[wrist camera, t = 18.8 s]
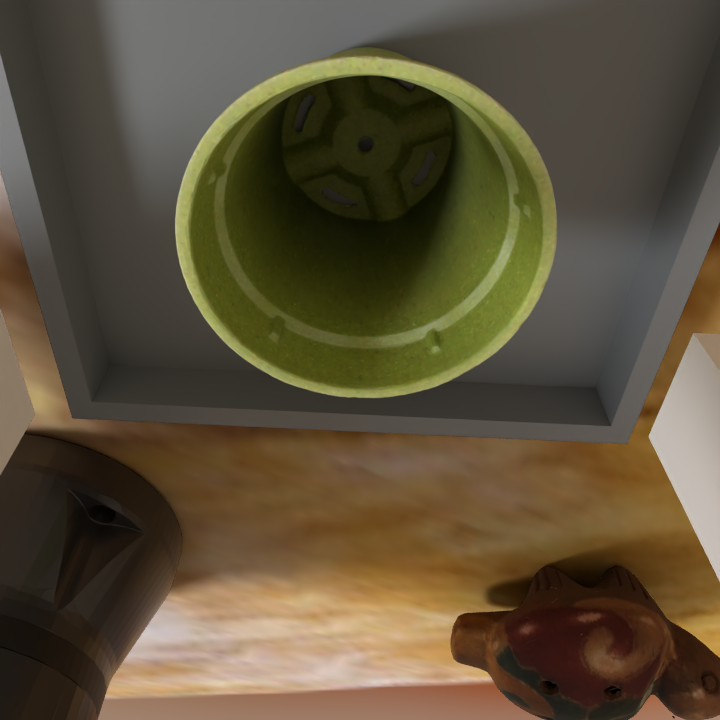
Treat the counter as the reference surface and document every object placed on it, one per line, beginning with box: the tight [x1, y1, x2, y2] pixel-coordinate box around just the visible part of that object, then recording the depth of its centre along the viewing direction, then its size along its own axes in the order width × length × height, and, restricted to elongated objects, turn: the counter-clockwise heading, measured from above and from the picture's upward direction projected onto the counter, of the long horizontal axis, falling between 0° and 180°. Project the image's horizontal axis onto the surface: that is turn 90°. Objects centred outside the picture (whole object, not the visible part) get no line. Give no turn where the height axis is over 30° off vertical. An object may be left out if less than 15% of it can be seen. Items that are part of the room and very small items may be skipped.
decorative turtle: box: [451, 567, 720, 720], centre depth 39 cm, size 10×15×8 cm, turn 101°
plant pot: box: [175, 47, 557, 398], centre depth 20 cm, size 9×9×9 cm
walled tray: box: [0, 0, 720, 444], centre depth 23 cm, size 24×24×4 cm
